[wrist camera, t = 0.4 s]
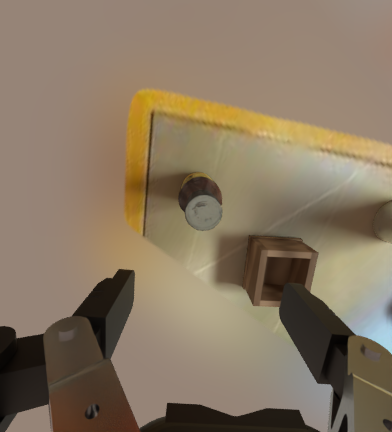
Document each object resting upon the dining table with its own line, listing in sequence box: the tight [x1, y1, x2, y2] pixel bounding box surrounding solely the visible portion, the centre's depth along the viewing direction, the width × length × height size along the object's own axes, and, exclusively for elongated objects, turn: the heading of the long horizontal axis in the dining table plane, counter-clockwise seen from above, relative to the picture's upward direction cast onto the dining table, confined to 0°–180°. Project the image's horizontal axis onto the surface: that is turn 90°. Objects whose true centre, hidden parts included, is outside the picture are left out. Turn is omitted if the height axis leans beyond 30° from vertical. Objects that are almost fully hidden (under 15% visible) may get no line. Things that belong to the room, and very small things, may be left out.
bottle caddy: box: [242, 235, 318, 307], centre depth 42 cm, size 11×12×7 cm
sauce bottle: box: [178, 172, 222, 231], centre depth 32 cm, size 6×6×20 cm
